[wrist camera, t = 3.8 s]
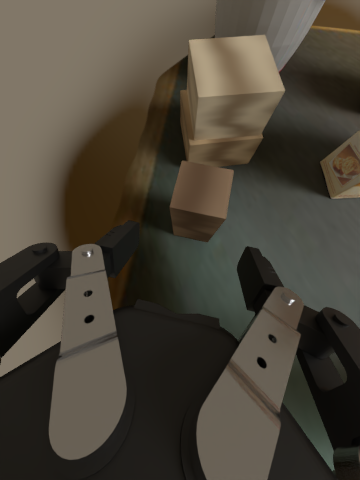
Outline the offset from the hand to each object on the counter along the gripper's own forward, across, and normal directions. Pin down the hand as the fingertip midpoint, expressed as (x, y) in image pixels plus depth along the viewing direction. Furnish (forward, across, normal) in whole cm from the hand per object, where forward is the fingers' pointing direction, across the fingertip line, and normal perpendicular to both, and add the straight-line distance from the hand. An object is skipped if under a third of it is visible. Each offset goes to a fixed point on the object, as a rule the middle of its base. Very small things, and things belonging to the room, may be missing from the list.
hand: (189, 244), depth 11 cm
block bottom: (+22, 0, -7) cm, 23 cm away
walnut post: (+11, 0, +3) cm, 12 cm away
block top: (+19, -1, -11) cm, 22 cm away
